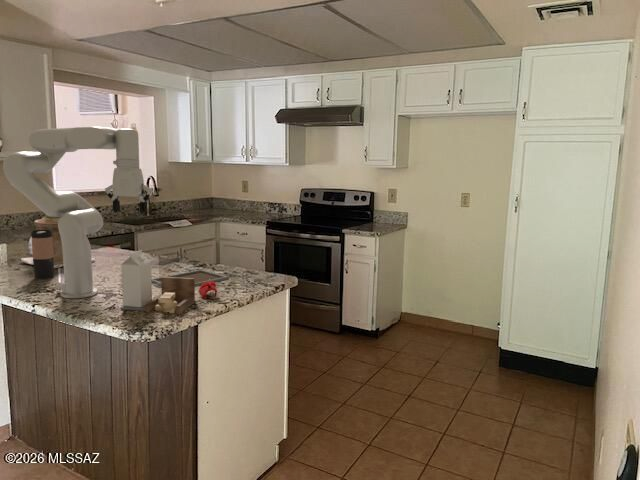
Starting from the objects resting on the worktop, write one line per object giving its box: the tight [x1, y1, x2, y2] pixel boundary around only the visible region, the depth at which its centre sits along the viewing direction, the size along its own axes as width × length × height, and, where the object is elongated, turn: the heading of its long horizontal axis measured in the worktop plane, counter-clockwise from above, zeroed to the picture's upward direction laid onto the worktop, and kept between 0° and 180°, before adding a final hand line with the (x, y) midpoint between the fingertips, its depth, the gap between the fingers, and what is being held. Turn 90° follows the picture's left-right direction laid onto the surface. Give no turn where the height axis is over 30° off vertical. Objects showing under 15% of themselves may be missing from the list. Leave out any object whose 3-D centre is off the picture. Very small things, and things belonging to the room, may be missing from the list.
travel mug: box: [30, 229, 55, 280], centre depth 205 cm, size 8×8×20 cm
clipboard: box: [151, 269, 230, 289], centre depth 208 cm, size 19×2×30 cm
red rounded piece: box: [198, 282, 218, 299], centre depth 185 cm, size 8×6×6 cm
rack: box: [145, 276, 196, 316], centre depth 171 cm, size 12×15×9 cm
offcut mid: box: [158, 298, 178, 310], centre depth 167 cm, size 8×4×2 cm, turn 39°
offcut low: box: [154, 304, 176, 314], centre depth 168 cm, size 8×4×2 cm, turn 69°
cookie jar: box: [20, 214, 96, 269], centre depth 232 cm, size 25×25×32 cm
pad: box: [120, 305, 145, 311], centre depth 172 cm, size 9×9×1 cm
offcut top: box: [160, 292, 175, 303], centre depth 167 cm, size 6×4×2 cm, turn 2°
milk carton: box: [120, 249, 153, 307], centre depth 170 cm, size 7×7×19 cm
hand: (129, 212), depth 175 cm, fingers open, 9 cm apart
